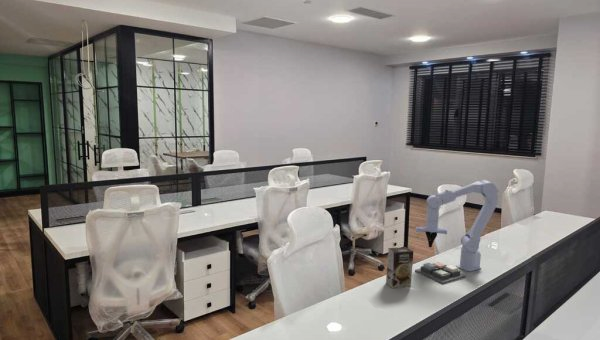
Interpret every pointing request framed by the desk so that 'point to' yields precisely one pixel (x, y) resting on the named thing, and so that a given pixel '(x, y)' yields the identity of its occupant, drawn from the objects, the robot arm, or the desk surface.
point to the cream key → (451, 268)
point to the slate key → (429, 266)
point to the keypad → (438, 277)
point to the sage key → (441, 272)
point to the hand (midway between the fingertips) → (430, 246)
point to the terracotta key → (439, 264)
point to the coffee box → (399, 267)
